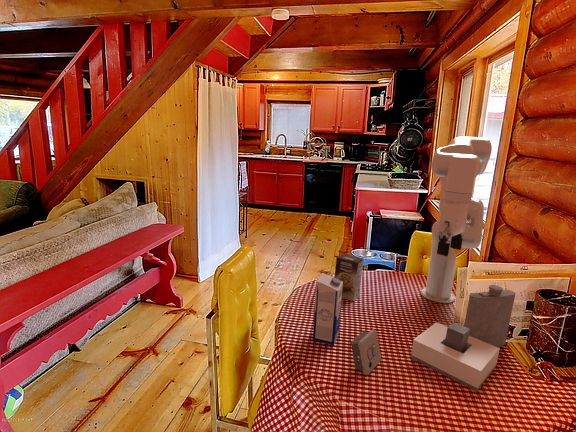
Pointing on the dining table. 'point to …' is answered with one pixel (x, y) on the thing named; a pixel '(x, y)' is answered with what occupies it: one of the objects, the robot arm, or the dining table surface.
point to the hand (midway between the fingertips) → (449, 251)
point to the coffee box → (349, 275)
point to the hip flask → (490, 315)
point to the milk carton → (327, 309)
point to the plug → (457, 337)
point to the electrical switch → (366, 351)
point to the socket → (455, 357)
